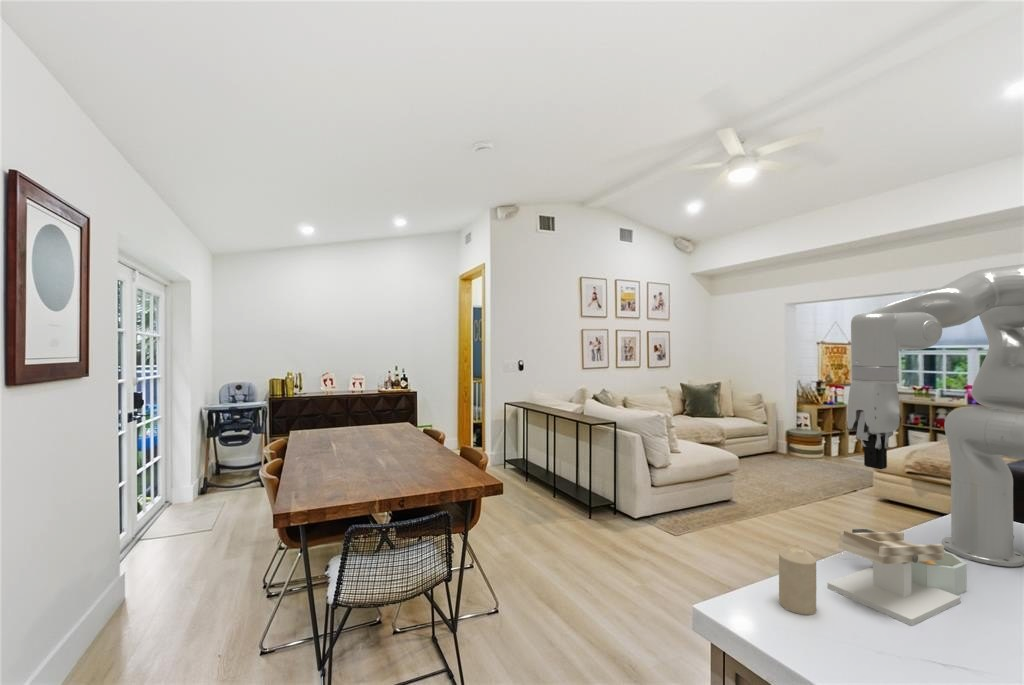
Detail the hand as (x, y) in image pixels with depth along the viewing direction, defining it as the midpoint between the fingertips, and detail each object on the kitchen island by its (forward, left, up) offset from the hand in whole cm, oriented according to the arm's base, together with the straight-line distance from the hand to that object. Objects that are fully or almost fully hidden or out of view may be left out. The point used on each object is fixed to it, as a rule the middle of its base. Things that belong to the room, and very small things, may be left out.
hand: (875, 467), depth 93 cm
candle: (+26, +1, -21) cm, 34 cm away
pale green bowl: (-5, +6, -21) cm, 22 cm away
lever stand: (+7, +6, -21) cm, 23 cm away
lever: (+7, +3, -13) cm, 16 cm away
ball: (-4, +6, -18) cm, 20 cm away
